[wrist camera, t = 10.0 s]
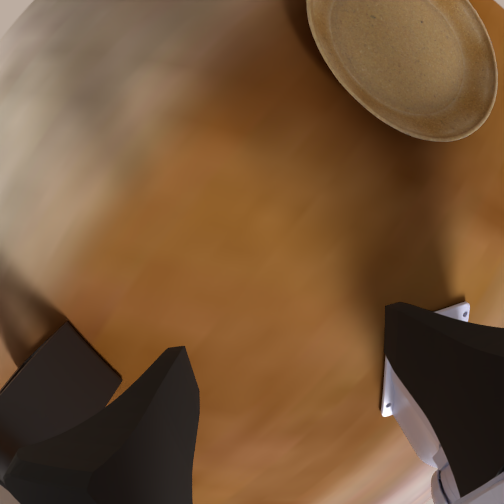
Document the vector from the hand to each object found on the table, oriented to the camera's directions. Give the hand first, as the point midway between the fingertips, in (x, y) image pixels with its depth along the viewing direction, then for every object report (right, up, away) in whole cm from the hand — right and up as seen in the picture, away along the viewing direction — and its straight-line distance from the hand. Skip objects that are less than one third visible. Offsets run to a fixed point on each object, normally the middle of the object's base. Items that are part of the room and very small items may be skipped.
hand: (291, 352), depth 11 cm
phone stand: (-16, -6, +11) cm, 20 cm away
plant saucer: (+9, +18, +6) cm, 21 cm away
